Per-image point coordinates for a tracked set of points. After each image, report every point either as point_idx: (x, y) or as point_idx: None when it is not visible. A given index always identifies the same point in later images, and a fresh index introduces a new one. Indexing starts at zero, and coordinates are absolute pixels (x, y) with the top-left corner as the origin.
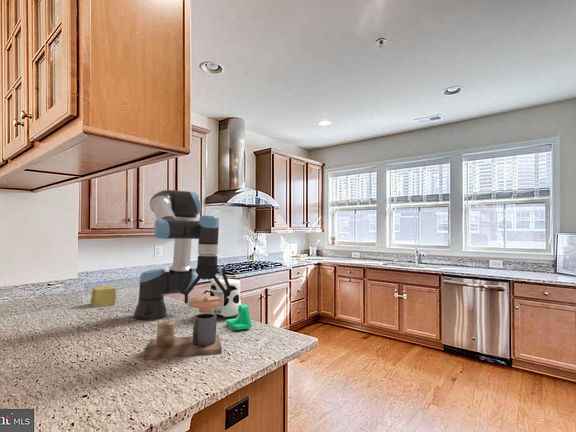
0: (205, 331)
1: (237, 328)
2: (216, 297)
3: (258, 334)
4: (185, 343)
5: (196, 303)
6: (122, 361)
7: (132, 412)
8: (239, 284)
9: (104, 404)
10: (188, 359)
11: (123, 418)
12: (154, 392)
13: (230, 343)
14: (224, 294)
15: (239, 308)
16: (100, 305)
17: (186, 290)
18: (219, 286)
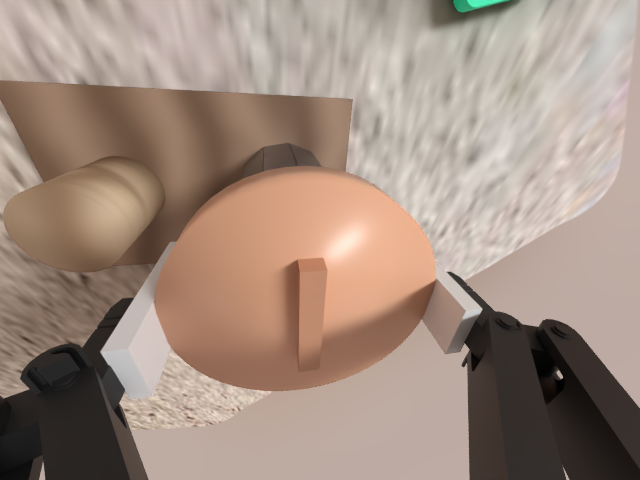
0: None
1: (466, 10)
2: (410, 253)
3: (512, 91)
4: (212, 185)
5: (239, 381)
6: (22, 262)
7: (184, 410)
8: None
9: (126, 401)
10: None
11: (177, 418)
12: (199, 378)
13: (378, 172)
14: (468, 338)
15: None
16: None
17: (48, 422)
18: (473, 439)
